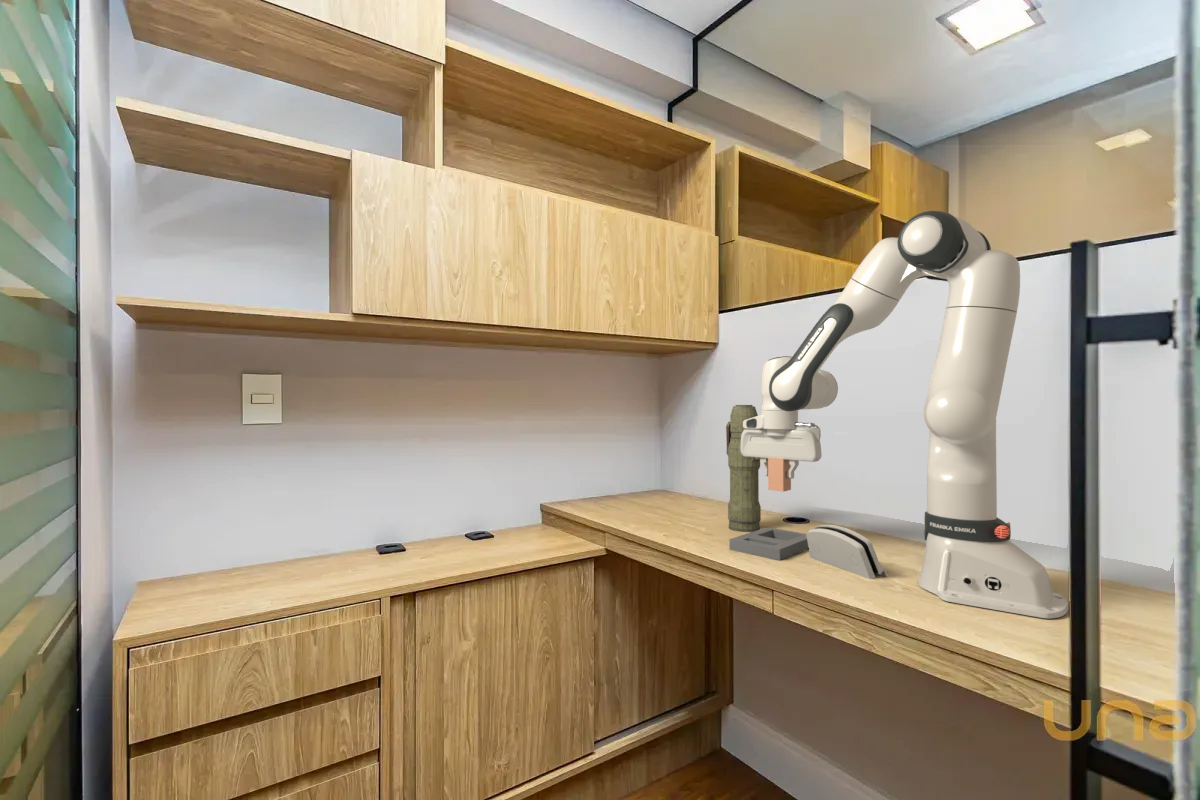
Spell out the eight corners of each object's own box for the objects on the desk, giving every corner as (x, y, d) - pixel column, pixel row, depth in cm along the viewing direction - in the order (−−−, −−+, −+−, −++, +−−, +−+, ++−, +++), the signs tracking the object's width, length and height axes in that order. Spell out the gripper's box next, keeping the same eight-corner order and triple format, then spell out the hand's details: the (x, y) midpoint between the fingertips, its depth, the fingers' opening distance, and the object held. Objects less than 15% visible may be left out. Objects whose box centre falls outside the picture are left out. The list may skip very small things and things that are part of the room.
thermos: (735, 522, 162) (735, 404, 162) (771, 529, 153) (770, 404, 153) (717, 527, 156) (717, 404, 156) (753, 534, 147) (753, 405, 148)
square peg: (790, 489, 136) (790, 457, 136) (783, 491, 134) (783, 458, 134) (776, 488, 139) (776, 456, 139) (768, 489, 136) (768, 457, 136)
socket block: (815, 545, 136) (815, 535, 136) (779, 560, 123) (779, 549, 123) (767, 536, 145) (767, 527, 145) (729, 549, 132) (729, 539, 132)
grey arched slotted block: (889, 576, 112) (876, 531, 110) (873, 587, 110) (860, 541, 109) (826, 555, 127) (815, 516, 126) (811, 564, 125) (800, 524, 124)
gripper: (826, 422, 131) (826, 480, 131) (749, 420, 146) (750, 472, 146) (814, 423, 127) (814, 482, 127) (737, 421, 141) (737, 474, 141)
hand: (779, 477), depth 136 cm, fingers closed on square peg, 4 cm apart
